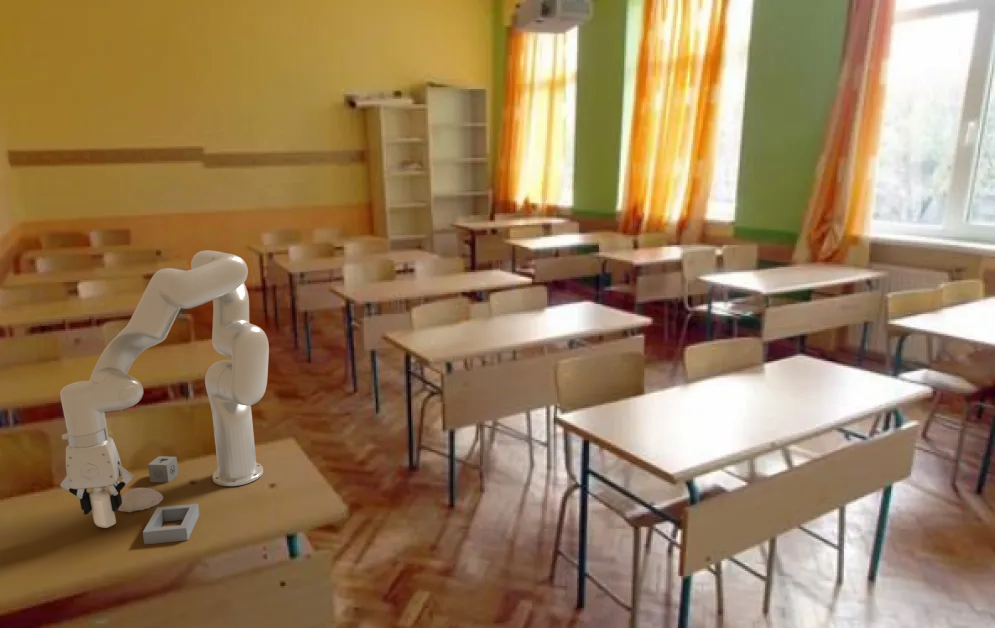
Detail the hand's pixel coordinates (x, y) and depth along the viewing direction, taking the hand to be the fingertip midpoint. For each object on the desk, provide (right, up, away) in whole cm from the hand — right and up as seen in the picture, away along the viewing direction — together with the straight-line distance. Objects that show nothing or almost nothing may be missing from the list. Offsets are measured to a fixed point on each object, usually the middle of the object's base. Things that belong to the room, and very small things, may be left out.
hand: (102, 509), depth 159 cm
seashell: (+2, -2, +13) cm, 13 cm away
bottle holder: (+16, -5, 0) cm, 16 cm away
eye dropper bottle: (0, -4, +1) cm, 4 cm away
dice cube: (+2, +1, +25) cm, 25 cm away
